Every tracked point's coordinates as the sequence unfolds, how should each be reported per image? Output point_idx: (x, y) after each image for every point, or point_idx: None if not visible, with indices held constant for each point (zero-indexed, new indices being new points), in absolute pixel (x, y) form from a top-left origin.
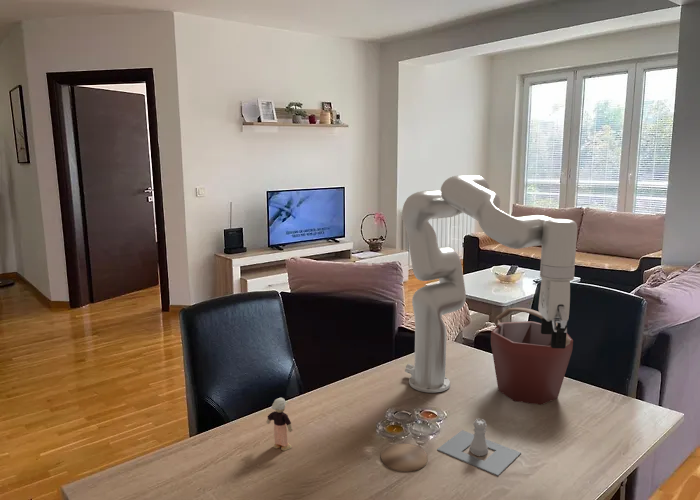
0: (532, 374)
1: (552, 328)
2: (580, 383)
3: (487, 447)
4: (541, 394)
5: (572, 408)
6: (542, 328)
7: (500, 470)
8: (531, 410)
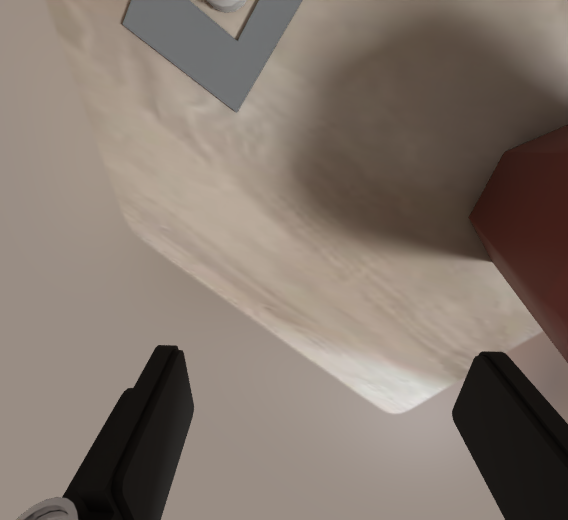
0: (529, 220)
1: (478, 451)
2: None
3: (214, 2)
4: (481, 226)
5: (439, 278)
6: (506, 393)
7: (145, 36)
8: (444, 187)
